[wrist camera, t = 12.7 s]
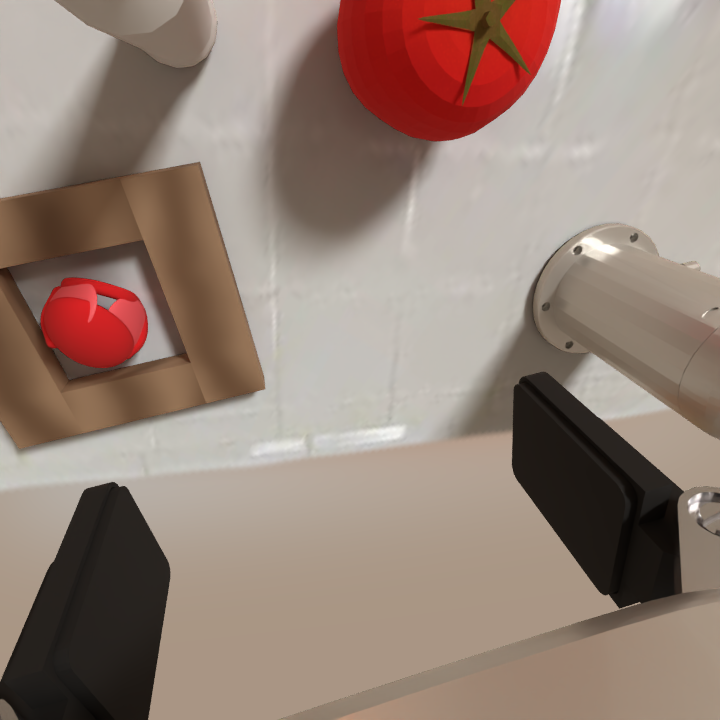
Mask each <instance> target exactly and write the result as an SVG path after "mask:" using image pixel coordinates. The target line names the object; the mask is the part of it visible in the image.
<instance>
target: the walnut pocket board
mask: <svg viewBox="0 0 720 720" xmlns="http://www.w3.org/2000/svg"><path fill="white" fill-rule="evenodd" d="M141 240H144V243H145V246H146V248H147V251H148V253H149V256H150V259H151V261H152V264H153V266H154V269H155V271H156V274H157V277H158V279H159V282H160V284H161V287H162V290H163V292H164V295H165V297H166V300H167V303H168V305H169V308H170V310H171V313H172V316H173V318H174V321H175V323H176V326H177V329H178V331H179V334H180V336H181V339H182V341H183V344H184V347H185V349H186V352H187V353H185V354H181V355H176V356H172V357H168V358H163V359H159V360H155V361H150V362H146V363H142V364H137V365H133V366H129V367H124V368H120V369H115V370H111V371H107V372H102V373H98V374H94V375H89V376H85V377H81V378H76V379H72V380H69V379H68V377H67V376H66V374H65V372H64V370H63V368H62V367H61V365H60V363H59V361H58V359H57V358H56V356H55V354H54V352H53V350H52V348H50V347H49V346H47V344H46V341H45V338H44V335H43V332H42V330H41V328H40V327H39V325H38V323H37V321H36V319H35V318H34V316H33V314H32V312H31V310H30V309H29V307H28V305H27V303H26V301H25V299H24V298H23V296H22V294H21V292H20V290H19V289H18V287H17V285H16V283H15V281H14V279H13V278H12V276H11V274H10V272H9V270H8V269H7V267H10V266H15V265H20V264H25V263H30V262H35V261H40V260H45V259H50V258H55V257H60V256H65V255H70V254H75V253H80V252H86V251H91V250H96V249H101V248H106V247H111V246H116V245H121V244H126V243H131V242H136V241H141ZM264 389H265V381H264V375H263V372H262V368H261V365H260V362H259V358H258V355H257V351H256V348H255V345H254V341H253V338H252V335H251V331H250V328H249V325H248V321H247V318H246V315H245V311H244V308H243V305H242V301H241V298H240V295H239V291H238V288H237V285H236V281H235V278H234V274H233V271H232V268H231V264H230V261H229V258H228V254H227V251H226V248H225V244H224V241H223V238H222V234H221V231H220V228H219V224H218V221H217V218H216V214H215V211H214V207H213V204H212V201H211V197H210V194H209V191H208V187H207V184H206V181H205V177H204V174H203V171H202V167H201V164H200V162H197V163H192V164H187V165H181V166H176V167H170V168H165V169H159V170H154V171H148V172H143V173H137V174H132V175H127V176H121V177H116V178H110V179H105V180H99V181H94V182H88V183H83V184H77V185H72V186H67V187H61V188H56V189H50V190H45V191H39V192H34V193H28V194H23V195H17V196H12V197H7V198H1V199H0V421H1V422H2V424H3V425H4V427H5V428H6V430H7V431H8V433H9V434H10V436H11V437H12V439H13V440H14V442H15V443H16V445H17V446H18V448H19V449H21V448H25V447H29V446H33V445H37V444H41V443H45V442H49V441H53V440H58V439H62V438H66V437H70V436H74V435H78V434H82V433H86V432H91V431H95V430H99V429H103V428H107V427H111V426H115V425H119V424H124V423H128V422H132V421H136V420H140V419H144V418H148V417H152V416H156V415H161V414H165V413H169V412H173V411H177V410H181V409H185V408H189V407H194V406H198V405H202V404H206V403H210V402H214V401H218V400H222V399H227V398H231V397H235V396H239V395H243V394H247V393H251V392H255V391H259V390H264Z"/></svg>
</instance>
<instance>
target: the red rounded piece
mask: <svg viewBox="0 0 720 720" xmlns="http://www.w3.org/2000/svg"><path fill="white" fill-rule="evenodd" d="M97 294H98V295H102V296H106V297H110V298H113V299H116V300H117V301H116V302H114V303H113V304H112V306H111V307H110V308H109V310H107V309H105V308H103V307H101V306H99V305H97ZM41 328H42V332H43V335H44V338H45V341H46V344H47V346H49V347H50V348H58V349H59V350H60V351H61V352H62V353H63V354H65V355H66V356H67V357H69V358H70V359H72V360H74V361H76V362H78V363H80V364H83V365H86V366H90V367H95V368H108V367H113V366H116V365H119V364H121V363H122V362H124V361H125V360H126V359H129V358H131V357H132V356H133V355H134V354H135V353H137V352H138V351H139V350H140V349H141V348H142V346H143V345H144V343H145V341H146V338H147V333H148V321H147V315H146V311H145V308H144V306H143V305H142V303H141V301H140V300H139V298H138V297H137V296H136V295H135V294H134V293H132V292H131V291H128V290H126V289H123V288H121V287H118V286H114V285H111V284H108V283H104V282H101V281H96V280H91V279H84V278H65V279H64V280H63V281H62V282H61V286H58V287H55V288H54V289H53V291H52V293H51V295H50V296H49V298H48V300H47V302H46V304H45V306H44V308H43V310H42V313H41Z"/></svg>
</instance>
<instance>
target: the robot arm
mask: <svg viewBox="0 0 720 720" xmlns="http://www.w3.org/2000/svg"><path fill="white" fill-rule="evenodd" d="M533 314H534V320H535V323H536V326H537V329H538V330H539V332H540V334H541V335H542V337H544V338H545V339H546V340H547V341H548V342H549V343H550V344H552V345H553V346H555V347H556V348H558V349H560V350H562V351H565V352H570V353H587V352H592V353H593V354H595V355H596V356H597V357H599V358H600V359H602V360H603V361H604V362H606V363H607V364H609V365H610V366H612V367H613V368H614V369H616V370H617V371H619V372H620V373H621V374H623V375H624V376H626V377H627V378H629V379H630V380H631V381H633V382H634V383H636V384H637V385H638V386H640V387H641V388H643V389H644V390H646V391H647V392H648V393H650V394H651V395H653V396H654V397H655V398H657V399H658V400H660V401H661V402H663V403H664V404H665V405H667V406H668V407H670V408H671V409H673V410H674V411H675V412H677V413H678V414H680V415H681V416H682V417H684V418H685V419H687V420H688V421H690V422H691V423H692V424H694V425H695V426H697V427H698V428H700V429H701V430H703V431H704V432H706V433H708V434H709V435H711V436H713V437H715V438H717V439H719V440H720V278H717V277H715V276H712V275H709V274H706V273H704V272H701V271H700V265H699V263H697V262H696V261H691V262H687V263H682V264H679V263H676V262H673V261H670V260H667V259H665V258H662V257H659V253H658V251H657V248H656V246H655V244H654V242H653V241H652V240H651V238H650V237H649V236H648V235H647V234H645V233H644V232H643V231H641V230H639V229H636V228H634V227H631V226H628V225H623V224H619V223H616V224H603V225H599V226H595V227H592V228H590V229H588V230H585V231H583V232H581V233H580V234H578V235H576V236H575V237H573V238H572V239H570V240H569V241H568V242H567V243H566V244H565V245H563V246H562V247H561V248H560V249H559V250H558V251H557V252H556V254H555V255H554V256H553V257H552V258H551V259H550V261H549V263H548V264H547V266H546V267H545V269H544V270H543V272H542V274H541V277H540V279H539V281H538V283H537V287H536V290H535V294H534V301H533ZM512 449H513V450H512V468H513V472H514V475H515V477H516V479H517V480H518V482H519V483H520V484H521V486H522V487H523V488H524V490H525V491H526V493H527V494H528V495H529V497H530V498H531V499H532V501H533V502H534V504H535V505H536V506H537V508H538V509H539V510H540V512H541V513H542V514H543V516H544V517H545V519H546V520H547V521H548V523H549V524H550V525H551V526H552V528H553V529H554V531H555V532H556V533H557V535H558V536H559V537H560V539H561V540H562V542H563V543H564V544H565V546H566V547H567V549H568V550H569V551H570V552H571V554H572V555H573V557H574V558H575V559H576V561H577V562H578V564H579V565H580V566H581V568H582V569H583V570H584V572H585V573H586V574H587V576H588V577H589V579H590V580H591V581H592V583H593V584H594V585H595V587H596V588H597V589H598V590H599V592H600V593H602V594H603V595H608V594H609V595H610V597H611V598H612V599H613V601H614V602H615V603H616V604H617V606H618V607H619V608H622V607H626V606H629V605H632V604H635V603H638V602H640V603H641V604H638V605H635V606H631V607H628V608H625V609H621V610H618V611H615V612H611V613H608V614H604V615H601V616H598V617H595V618H591V619H588V620H584V621H581V622H578V623H575V624H572V625H568V626H565V627H562V628H559V629H556V630H553V631H550V632H547V633H543V634H540V635H537V636H534V637H531V638H528V639H525V640H521V641H518V642H515V643H512V644H509V645H506V646H503V647H500V648H496V649H493V650H490V651H487V652H484V653H481V654H478V655H474V656H471V657H468V658H465V659H462V660H459V661H456V662H453V663H450V664H447V665H444V666H441V667H438V668H435V669H431V670H428V671H425V672H422V673H419V674H416V675H413V676H410V677H407V678H404V679H400V680H398V681H394V682H392V683H389V684H385V685H382V686H379V687H376V688H373V689H370V690H367V691H364V692H361V693H358V694H355V695H351V696H349V697H345V698H342V699H339V700H336V701H333V702H330V703H327V704H324V705H321V706H318V707H315V708H312V709H309V710H306V711H303V712H300V713H297V714H294V715H291V716H288V717H285V718H282V719H279V720H720V488H717V487H709V486H703V487H694V488H691V489H689V490H686V491H685V492H684V491H682V490H681V489H680V488H679V487H678V486H677V485H676V484H675V483H673V482H672V481H671V480H670V479H669V478H668V477H666V476H665V475H664V474H663V473H662V472H661V471H660V470H659V469H657V468H656V467H655V466H654V465H653V464H651V462H649V461H648V460H647V459H646V458H645V457H644V456H642V455H641V454H640V453H639V452H638V451H637V450H636V449H634V448H633V447H632V446H631V445H630V444H629V443H628V442H626V441H625V440H624V439H623V438H622V437H621V436H620V435H618V434H617V433H616V432H615V431H614V430H613V429H612V428H611V427H609V426H608V425H607V424H606V423H605V422H604V421H603V420H601V419H600V418H598V417H597V416H596V415H595V414H593V413H592V412H591V411H590V410H589V409H588V408H587V407H586V406H584V405H583V404H582V403H581V402H580V401H579V400H578V399H576V398H575V397H574V396H573V395H572V394H571V393H570V392H568V391H567V390H566V389H565V388H564V387H563V386H562V385H560V384H559V383H558V382H557V381H556V380H555V379H554V378H552V377H551V376H550V375H549V374H548V373H546V372H540V373H536V374H532V375H528V376H525V377H522V378H521V379H520V381H519V384H517V385H515V387H514V400H513V446H512ZM169 582H170V567H169V563H168V561H167V559H166V557H165V555H164V553H163V552H162V550H161V548H160V546H159V544H158V543H157V541H156V539H155V537H154V535H153V533H152V532H151V530H150V528H149V526H148V525H147V523H146V521H145V519H144V517H143V515H142V514H141V512H140V510H139V508H138V506H137V505H136V503H135V501H134V499H133V497H132V495H131V494H130V492H129V490H128V489H127V487H125V486H122V487H119V486H118V484H116V483H115V482H111V483H107V484H103V485H99V486H95V487H91V488H87V489H86V490H84V492H83V493H82V496H81V498H80V500H79V503H78V505H77V508H76V510H75V512H74V515H73V517H72V520H71V522H70V524H69V527H68V529H67V531H66V534H65V536H64V539H63V541H62V544H61V546H60V548H59V551H58V553H57V555H56V558H55V560H54V562H53V563H52V564H51V565H50V567H49V569H48V570H47V573H46V575H45V577H44V580H43V582H42V584H41V587H40V589H39V592H38V594H37V596H36V599H35V601H34V603H33V606H32V608H31V610H30V613H29V615H28V618H27V620H26V622H25V625H24V627H23V629H22V632H21V634H20V637H19V639H18V642H17V643H16V646H15V648H14V651H13V653H12V656H11V658H10V660H9V662H8V665H7V667H6V670H5V672H4V674H3V677H2V679H1V681H0V720H148V715H149V710H150V703H151V697H152V691H153V684H154V678H155V671H156V665H157V659H158V653H159V646H160V640H161V633H162V627H163V621H164V614H165V608H166V601H167V595H168V589H169Z"/></svg>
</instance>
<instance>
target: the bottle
mask: <svg viewBox="0 0 720 720" xmlns="http://www.w3.org/2000/svg"><path fill="white" fill-rule="evenodd" d="M55 1H56V2H57V3H59V4H60V5H61V6H63V7H64V8H65V9H67V10H68V11H69V12H71V13H72V14H73V15H75V16H76V17H77V18H79V19H80V20H81V21H83V22H84V23H85V24H87V25H88V26H91V27H93V28H95V29H97V30H100V31H102V32H104V33H106V34H109V35H111V36H113V37H115V38H118V39H120V40H122V41H125V42H127V43H129V44H131V45H134V46H136V47H138V48H140V49H142V50H143V51H144V52H146V53H147V54H148V55H150V56H151V57H152V58H154V59H155V60H156V61H157V62H159V63H163V64H166V65H169V66H172V67H175V68H182V67H190V66H194V65H196V64H197V63H199V62H200V61H202V60H203V59H205V58H206V57H207V56H208V54H209V52H210V51H211V49H212V47H213V45H214V43H215V41H216V32H217V23H218V22H217V17H216V13H215V8H214V4H213V0H55Z"/></svg>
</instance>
